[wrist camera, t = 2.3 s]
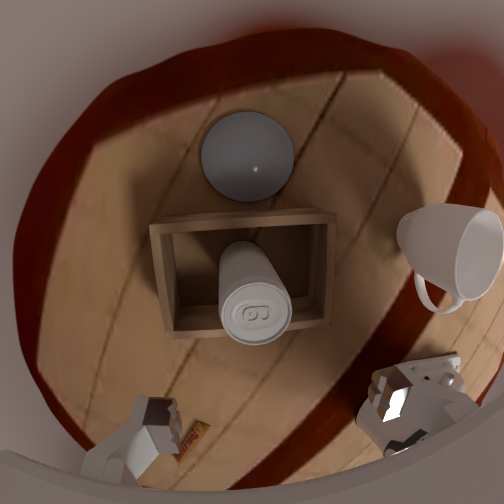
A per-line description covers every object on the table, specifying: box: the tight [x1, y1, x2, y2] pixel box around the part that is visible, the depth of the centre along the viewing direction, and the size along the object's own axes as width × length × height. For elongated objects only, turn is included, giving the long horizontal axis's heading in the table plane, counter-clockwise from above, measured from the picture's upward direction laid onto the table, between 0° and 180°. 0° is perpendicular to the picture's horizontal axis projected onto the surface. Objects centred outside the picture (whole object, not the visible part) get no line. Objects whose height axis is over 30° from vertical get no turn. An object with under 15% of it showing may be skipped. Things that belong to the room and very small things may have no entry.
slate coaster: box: [201, 112, 294, 202], centre depth 26 cm, size 9×9×1 cm
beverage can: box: [219, 241, 292, 345], centre depth 23 cm, size 5×5×12 cm
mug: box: [396, 203, 504, 313], centre depth 25 cm, size 12×9×12 cm
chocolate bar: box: [174, 422, 211, 466], centre depth 35 cm, size 3×12×2 cm, turn 153°
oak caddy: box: [149, 208, 336, 339], centre depth 26 cm, size 16×11×6 cm
